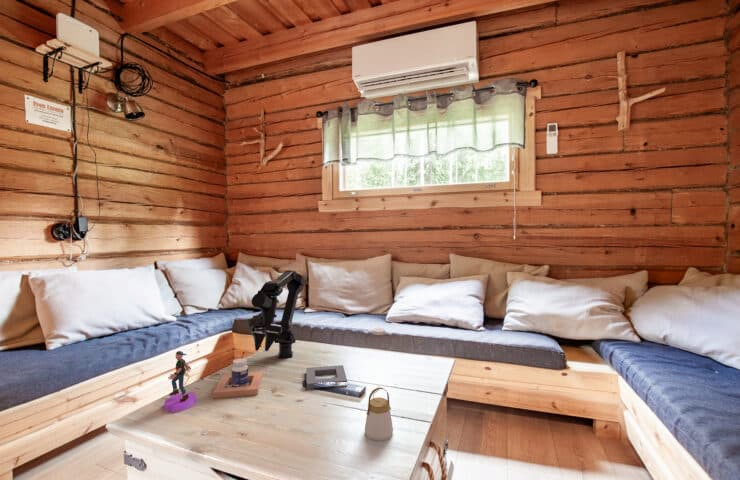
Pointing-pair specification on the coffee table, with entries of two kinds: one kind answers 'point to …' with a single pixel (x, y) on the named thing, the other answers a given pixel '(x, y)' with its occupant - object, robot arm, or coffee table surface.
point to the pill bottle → (239, 373)
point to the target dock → (223, 391)
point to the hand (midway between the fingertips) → (261, 350)
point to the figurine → (182, 399)
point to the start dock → (324, 370)
